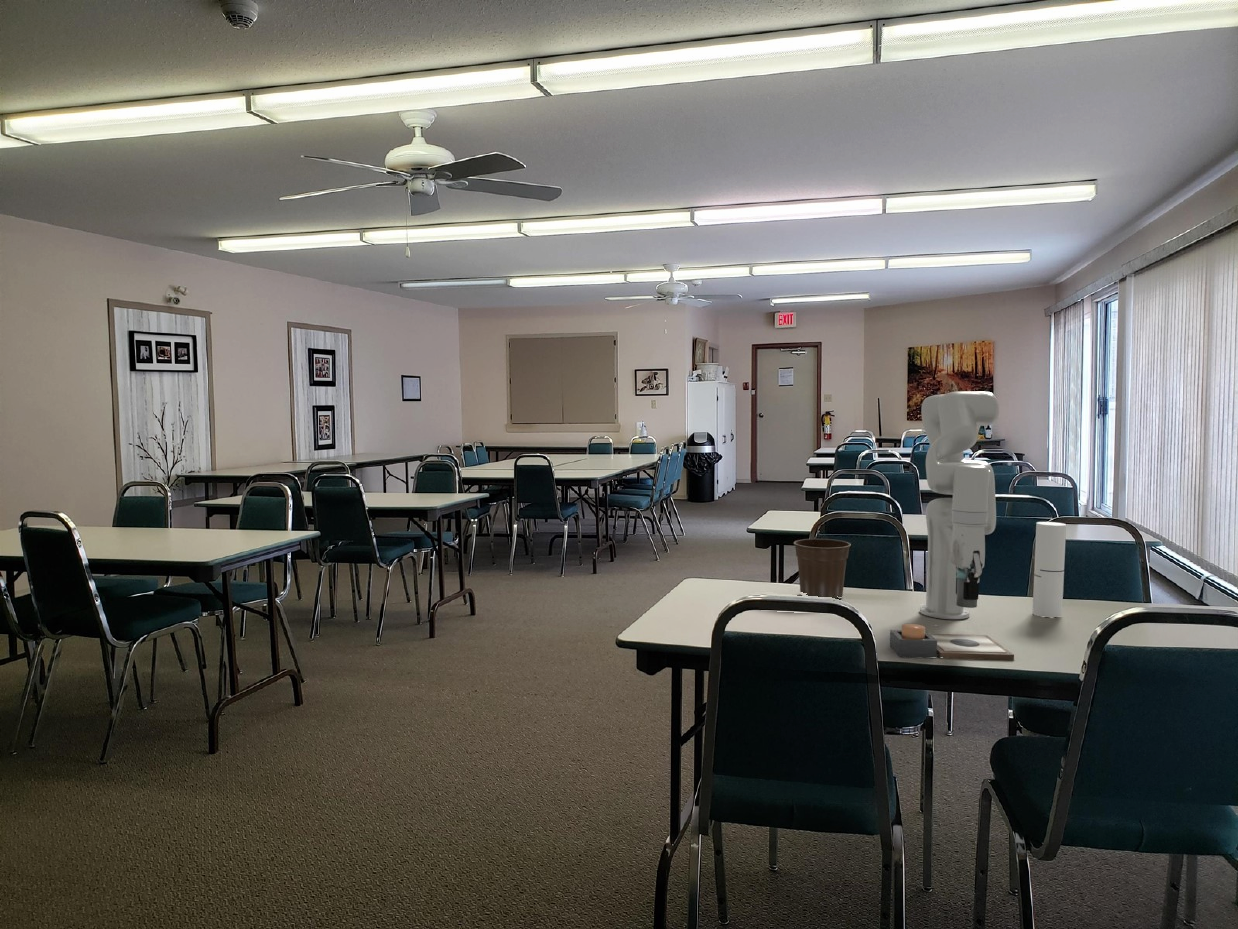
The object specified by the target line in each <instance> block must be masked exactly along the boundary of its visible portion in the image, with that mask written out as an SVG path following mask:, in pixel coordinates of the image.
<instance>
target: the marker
mask: <svg viewBox="0 0 1238 929" xmlns="http://www.w3.org/2000/svg"><path fill="white" fill-rule="evenodd" d="M971 572H972V571H969V575H970V573H971ZM964 582H966V581H965V570H957V601H956V605H957V606H960V607H964V608H965V609H966V608H968V609H969V608H970V609H971V608H972V609H974V608H977V607H978V600H965V599H963V590H964Z"/></svg>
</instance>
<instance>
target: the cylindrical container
mask: <svg viewBox="0 0 1238 929" xmlns="http://www.w3.org/2000/svg"><path fill="white" fill-rule="evenodd" d="M1035 523H1036V524H1035V525H1036V527H1035V545H1034V546H1035V547H1034V572H1033V573H1034V574H1033V590H1032V591H1033V594H1032V615H1033V614H1034V616H1036V615H1037V616H1036V617H1039V616H1045V617H1058V616H1062V617H1063V600H1064V599H1063V597H1064V583H1065V582H1064V579H1065V561H1066V560H1065V559H1066V558H1065V556H1066V536H1067V524H1066V523H1063V522H1054V521H1037V522H1035Z"/></svg>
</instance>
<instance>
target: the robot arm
mask: <svg viewBox="0 0 1238 929" xmlns="http://www.w3.org/2000/svg"><path fill="white" fill-rule="evenodd" d="M920 412H921V420H922V422H921V423H922V424H923V425H922V426H923V430H924V432H925V434H926V437H927V440H928V443H929V448H928V450H927V453H926V457H925V472H926V481H927V485H928V487H929V489H930V490H931V491H932V492H933V493H935V494H942V495H951V496H952V497H944V498H943V497H940V498H934V499H932V500H930V501H929V502H928V503H927V505H926V508H925V520H926V528H927V570H926V571H927V572H926V594H925V595H926V598H925V599H926V600H925V601H926V602H925V605H921V606H920V607H919V613H921V614H922V615H924V616H926V617H929V618H930V617H931V618H935V619H942V620H965V619H968V618H970V615H971V614H970V611H969V610H968V609H966V608H965V607H960V606H957V605H956V601H957V570H965V581H966V582H964V590H963V599H965V600H977V601H978V600H979V592H980V589H979V588H980V587H979V586H980V580H981V579H980V577H981V575H982V573H983V568H985V558H986V538H985V537H986V535H987V536H988V535H990V534H992V533H993V532H995V529H996V526H997V504H996V503H997V502H996V481H995V480H996V479H995V473H994V469H993V467H992V465H991V464H990V463H989V462H987V461H985V460H974V459H973V460H971V459H970V460H968V459H965V457H964V452H965V451H967V450H969V449H971V448H973V446H975V444H976V443H977V441H978V438H979V433H978V427H983V426H984V427H985V426H991V425H993V424H995V423H996V422H997V420H998V417H999V415H1000V403H999V400H998V398H997V396H995V394H994V393H993V392H990V391H972V390H971V391H961V390H960V391H951V392H947V393H945V394H933V395H929V396H928V397H926V398H924V400H922V403H921V411H920ZM971 567H973V568H971ZM969 571H972V572H971V573H970V575H969Z"/></svg>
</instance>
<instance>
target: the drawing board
mask: <svg viewBox="0 0 1238 929" xmlns="http://www.w3.org/2000/svg"><path fill="white" fill-rule="evenodd" d="M929 634H930V635H931V636H933V637H934V638H935V639H936V640H937V656H938V657H939V658H940V657H943V658H942V659H954V658H955V659H956V660H957V658H958V660H960V659H961V660H996V661H997V660H1001V661H1003V660H1004V661H1014V660H1015V654H1013V653H1012V652H1011V651H1009V650H1008V649H1007V648H1005V647H1004V646H1002V645H1001V644H1000V643H998V642H997V640H994V639H993V638H992V637H990V636H989V635H988V634H953V633H952V634H951V633H950V634H949V633H929Z"/></svg>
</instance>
